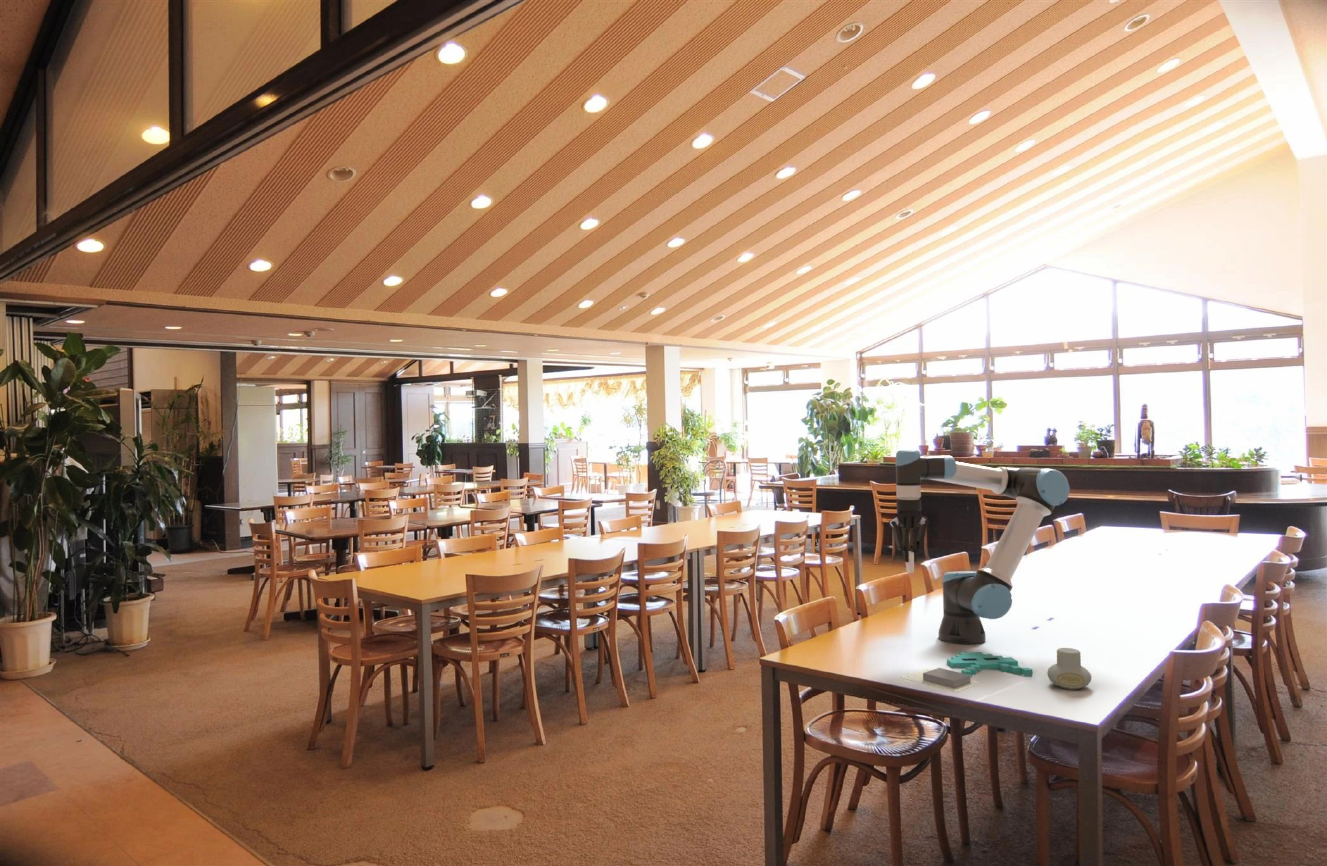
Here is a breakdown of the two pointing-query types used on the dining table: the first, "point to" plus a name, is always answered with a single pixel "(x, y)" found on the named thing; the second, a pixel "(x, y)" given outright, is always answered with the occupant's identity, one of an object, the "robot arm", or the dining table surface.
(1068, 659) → the air freshener
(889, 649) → the dining table surface
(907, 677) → the felt mat
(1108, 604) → the dining table surface
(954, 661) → the alien figure
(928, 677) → the slate tile
